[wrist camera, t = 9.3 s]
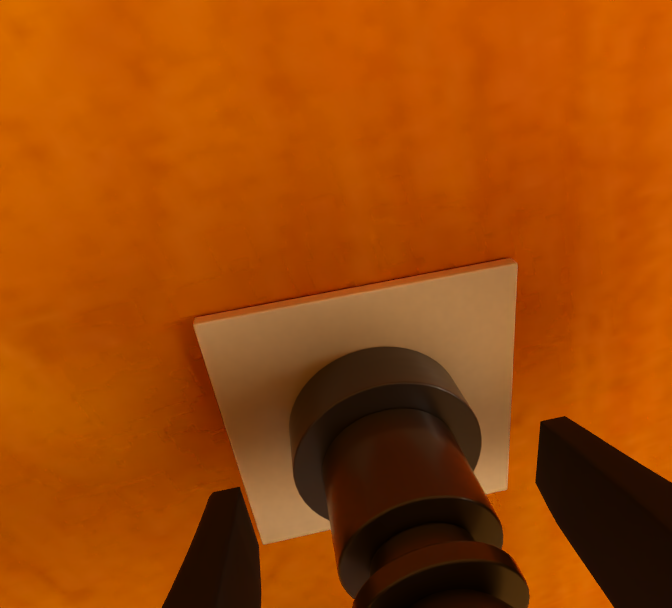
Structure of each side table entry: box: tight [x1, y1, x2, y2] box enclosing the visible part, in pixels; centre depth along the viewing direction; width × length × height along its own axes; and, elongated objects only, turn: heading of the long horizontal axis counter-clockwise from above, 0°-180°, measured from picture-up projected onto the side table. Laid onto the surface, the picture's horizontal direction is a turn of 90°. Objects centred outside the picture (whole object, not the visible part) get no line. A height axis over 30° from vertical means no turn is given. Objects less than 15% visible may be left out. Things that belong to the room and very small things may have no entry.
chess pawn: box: [289, 346, 529, 608], centre depth 9 cm, size 5×5×8 cm
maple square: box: [193, 258, 518, 545], centre depth 13 cm, size 8×8×1 cm
